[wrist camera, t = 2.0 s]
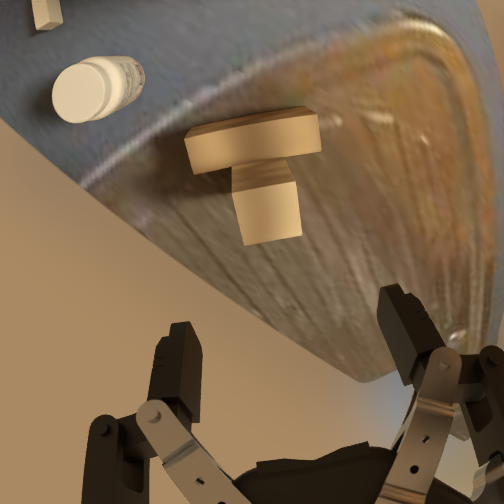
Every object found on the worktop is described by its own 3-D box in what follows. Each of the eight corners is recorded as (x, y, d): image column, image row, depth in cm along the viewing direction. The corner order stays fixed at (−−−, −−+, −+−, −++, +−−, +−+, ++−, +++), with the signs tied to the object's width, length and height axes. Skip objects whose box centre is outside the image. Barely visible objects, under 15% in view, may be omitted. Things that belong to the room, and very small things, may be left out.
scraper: (305, 106, 24) (337, 128, 17) (314, 178, 28) (343, 227, 21) (190, 127, 25) (171, 159, 18) (209, 198, 29) (201, 253, 22)
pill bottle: (87, 96, 22) (37, 114, 15) (109, 48, 20) (62, 48, 13) (131, 115, 24) (92, 139, 17) (155, 67, 21) (122, 71, 15)
